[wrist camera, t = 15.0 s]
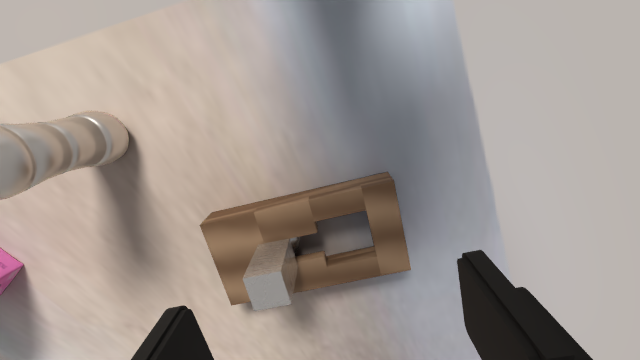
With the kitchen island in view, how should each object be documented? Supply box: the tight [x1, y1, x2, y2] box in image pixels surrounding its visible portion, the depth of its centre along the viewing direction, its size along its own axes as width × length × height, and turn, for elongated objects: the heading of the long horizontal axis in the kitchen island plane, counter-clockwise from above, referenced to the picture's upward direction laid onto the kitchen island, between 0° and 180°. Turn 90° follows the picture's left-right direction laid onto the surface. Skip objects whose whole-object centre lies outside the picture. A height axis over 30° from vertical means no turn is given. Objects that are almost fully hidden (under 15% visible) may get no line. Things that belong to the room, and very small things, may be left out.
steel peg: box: [243, 237, 300, 311], centre depth 37 cm, size 4×4×12 cm
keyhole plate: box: [200, 172, 411, 305], centre depth 40 cm, size 12×24×4 cm, turn 104°
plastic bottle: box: [0, 111, 129, 200], centre depth 30 cm, size 6×7×20 cm
